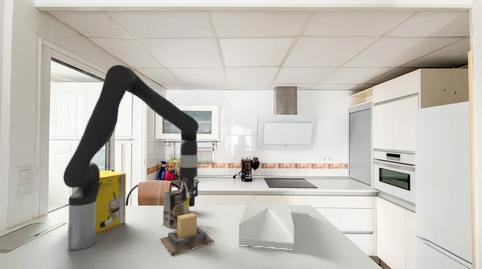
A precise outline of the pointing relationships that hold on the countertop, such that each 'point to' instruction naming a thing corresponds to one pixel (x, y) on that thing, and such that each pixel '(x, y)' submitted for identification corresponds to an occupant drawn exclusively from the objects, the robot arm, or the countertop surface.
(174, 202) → the coffee box
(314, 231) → the countertop surface
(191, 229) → the key block
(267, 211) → the building model
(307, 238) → the countertop surface
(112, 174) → the packaging box
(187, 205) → the supplement bottle
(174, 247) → the slot base
